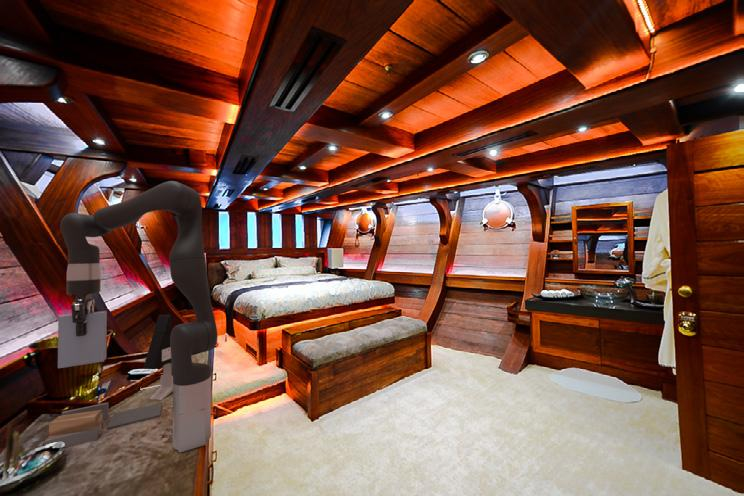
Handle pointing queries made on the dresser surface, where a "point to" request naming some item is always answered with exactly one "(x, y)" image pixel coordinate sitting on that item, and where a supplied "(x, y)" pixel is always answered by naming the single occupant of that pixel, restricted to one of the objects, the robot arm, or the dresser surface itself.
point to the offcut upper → (75, 422)
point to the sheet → (82, 340)
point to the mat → (135, 415)
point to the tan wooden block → (81, 435)
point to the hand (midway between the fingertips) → (83, 333)
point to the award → (161, 355)
